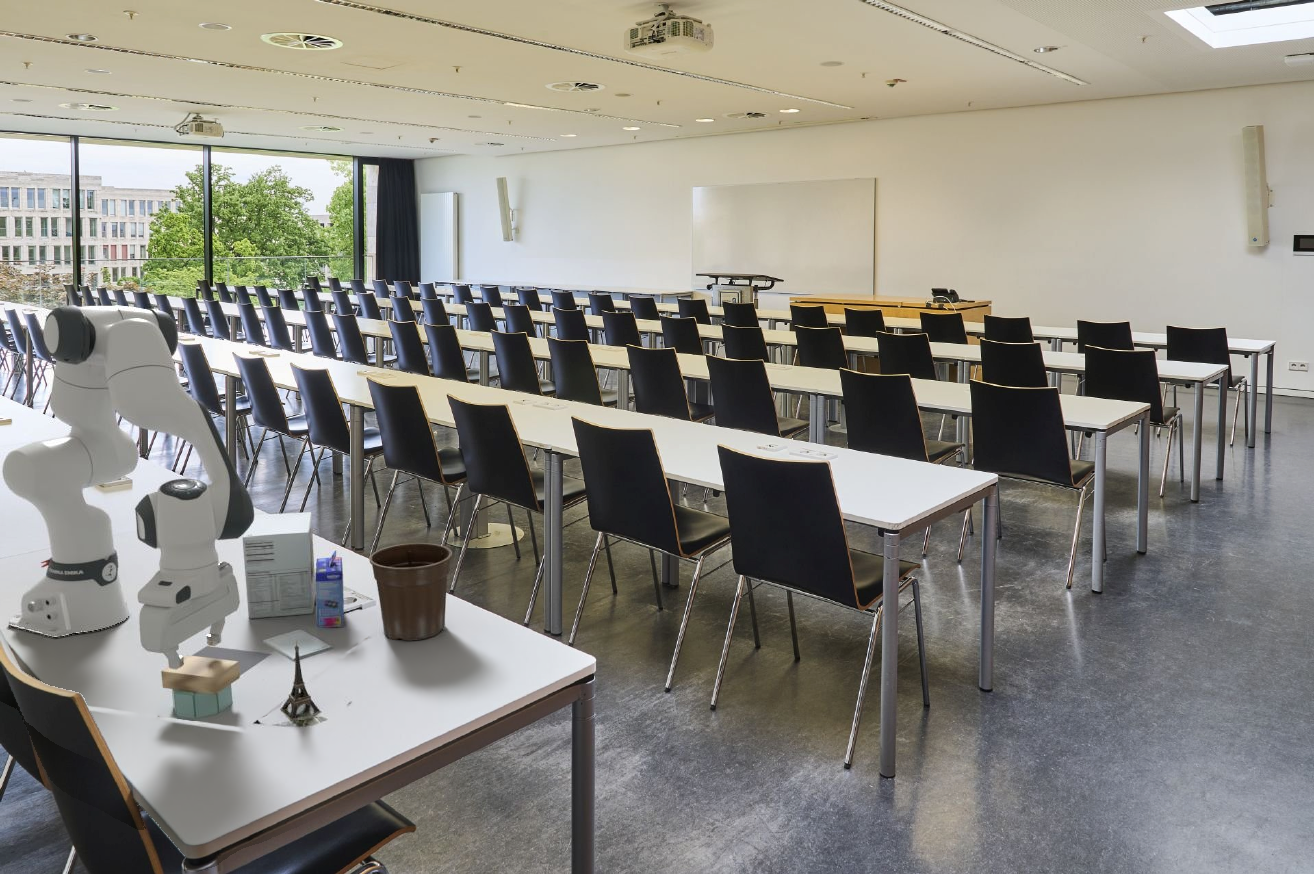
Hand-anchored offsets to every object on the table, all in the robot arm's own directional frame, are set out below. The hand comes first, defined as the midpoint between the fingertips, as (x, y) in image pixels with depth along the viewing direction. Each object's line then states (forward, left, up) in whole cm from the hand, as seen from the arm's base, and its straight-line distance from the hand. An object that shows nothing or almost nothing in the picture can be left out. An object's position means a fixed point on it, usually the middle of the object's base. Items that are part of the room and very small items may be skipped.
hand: (196, 655), depth 167 cm
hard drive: (+2, +26, -10) cm, 28 cm away
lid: (+1, 0, -5) cm, 5 cm away
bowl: (+1, 0, -10) cm, 10 cm away
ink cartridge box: (+1, +40, -10) cm, 42 cm away
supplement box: (-14, +46, -10) cm, 50 cm away
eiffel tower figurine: (+17, +3, -10) cm, 20 cm away
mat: (-7, +15, -10) cm, 19 cm away
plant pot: (+20, +40, -10) cm, 46 cm away
